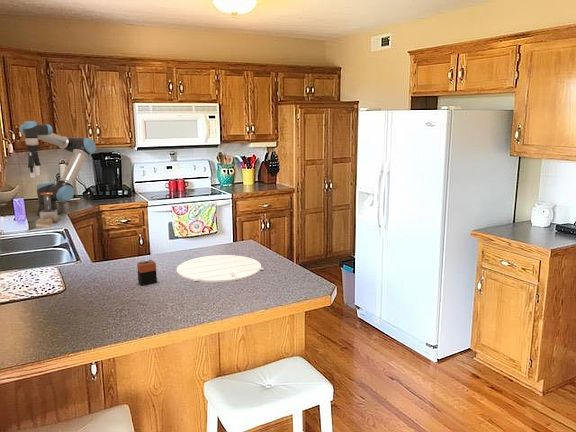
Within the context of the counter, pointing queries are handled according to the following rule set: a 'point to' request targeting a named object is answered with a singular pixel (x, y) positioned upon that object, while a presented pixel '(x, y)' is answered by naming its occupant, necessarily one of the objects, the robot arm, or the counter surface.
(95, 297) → the counter surface
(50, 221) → the block
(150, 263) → the battery
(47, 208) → the chuck key
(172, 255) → the counter surface
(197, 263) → the lazy susan
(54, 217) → the chuck
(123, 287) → the counter surface
